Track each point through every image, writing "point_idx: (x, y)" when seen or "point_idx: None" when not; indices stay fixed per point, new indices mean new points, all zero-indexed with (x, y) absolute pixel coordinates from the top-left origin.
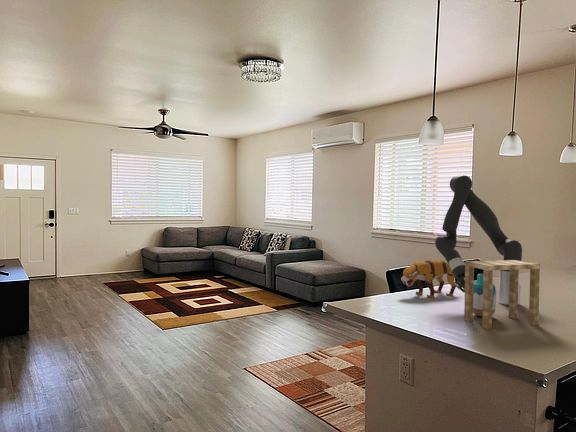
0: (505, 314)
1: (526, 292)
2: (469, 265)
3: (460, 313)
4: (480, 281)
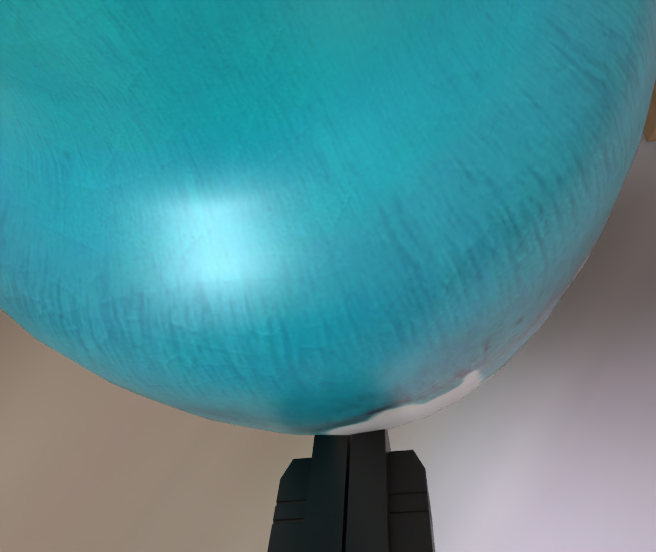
0: (20, 354)
1: None
2: None
3: (596, 489)
4: None
